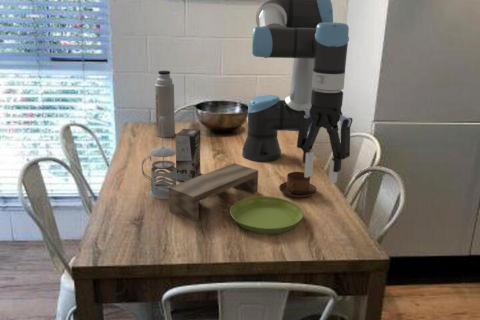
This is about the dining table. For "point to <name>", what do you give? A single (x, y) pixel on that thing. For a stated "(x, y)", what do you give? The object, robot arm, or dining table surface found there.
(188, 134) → the coffee box
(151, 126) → the dining table surface
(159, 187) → the french press
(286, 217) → the green plate
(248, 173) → the stand
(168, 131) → the thermos bottle
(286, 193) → the cup and saucer
